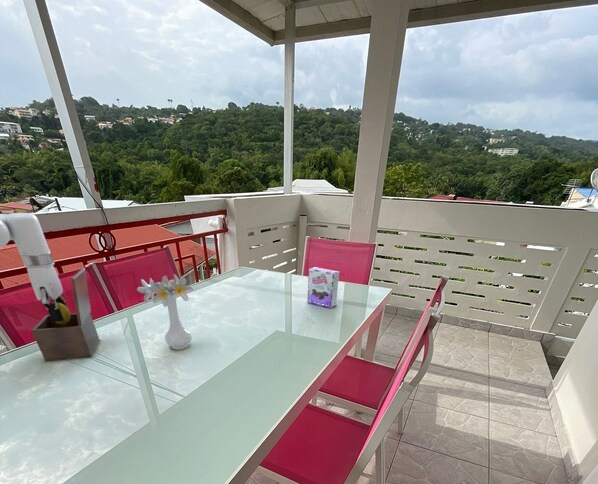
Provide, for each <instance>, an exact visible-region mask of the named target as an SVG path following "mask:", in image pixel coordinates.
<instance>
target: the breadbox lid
mask: <svg viewBox="0 0 598 484" xmlns="http://www.w3.org/2000/svg"><path fill="white" fill-rule="evenodd" d="M70 280H71V286H72V287H71V288H72V294H73V299H74V305H75V313H77V318H78V325H82V324H83V322H84V321H85V319H86V318H87V316H88V315H89V313H90V314H91V313H92V309H91V301H90V294H89V293H90V292H89V287H88V279H87V273H86V268H85V267H81V268H80V270H79V271H77V272H76V273H75V274H74V275H73V276H72V277H71V279H70Z"/></svg>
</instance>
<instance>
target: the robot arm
mask: <svg viewBox="0 0 598 484" xmlns="http://www.w3.org/2000/svg"><path fill="white" fill-rule="evenodd" d="M46 239H47V238H46V237H45V234H44V231H43V229H42V226H41V224H40V221H39V219H38V217H37V215H35V214H33V213H31V212H12V213H0V248H2V247H4V246H6V245H7V244H8V243H9V242H10V241H13V242H14V244H15V246H16V248H17V251H18V253H19V255H20V258H21V260H22V262H23V265H24V267H26V271H27V275H28V277H29V278H28V279H29V281H30V283H31V286H32V290H33V291H34V294H35V297H36V300H37V301H39V302H41V303H42V305H44V307H45V308H46V310H47V312H48V315H50V317H51V319H52V321H53V322H57V321H63V320H64V319H63V316H62V314H61V311H60V309H58V306H57V303H61V304H63V305H65V306H66V307H67V309H68V310H69V308H68V305H67V304H66V301H65V298H64V295H63V292H64V289H63V285H62V282H61V280H60V278H59V275H58V272H57V271H56V268H55V266H54V265H55V260H54V258H53V256H52V253H51V249H50V248H49V246H48V242H47V240H46ZM56 302H57V303H56ZM53 304H54V305H53Z"/></svg>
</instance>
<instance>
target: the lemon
mask: <svg viewBox="0 0 598 484" xmlns="http://www.w3.org/2000/svg"><path fill="white" fill-rule="evenodd" d="M56 303H57V302H56ZM52 304H53V303H52ZM53 305H54V304H53ZM57 306H58V309H60V311H61V314H62V316H63V319H64V320H63V321H57V322H56V323H58V324H62V325H66V323H68V322H69V321H70V318H71V316H70V314H71V312H70V310H69V308H68V306H67V305H66V306H67V307H66V306H65V305H63V304H61V303H57ZM67 308H68V309H67Z"/></svg>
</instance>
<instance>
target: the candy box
mask: <svg viewBox="0 0 598 484" xmlns="http://www.w3.org/2000/svg"><path fill="white" fill-rule="evenodd" d="M339 279H340V271H337V270H333V269H332V270H331V269H328V268H327V269H326V268H322V267H317V266H313V267H311V268H309V269H308V281H307V304H311V305H316V306H320V307H322V308H323V307H324V308H328V309H332V308H335V307H336V306H337V297H338V289H339ZM310 301H311V302H310ZM314 302H315V303H314ZM318 303H319V304H318ZM322 304H324V305H322ZM334 304H335V305H334ZM326 305H327V306H326Z"/></svg>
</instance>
